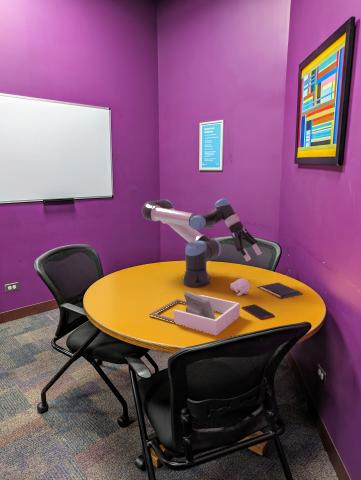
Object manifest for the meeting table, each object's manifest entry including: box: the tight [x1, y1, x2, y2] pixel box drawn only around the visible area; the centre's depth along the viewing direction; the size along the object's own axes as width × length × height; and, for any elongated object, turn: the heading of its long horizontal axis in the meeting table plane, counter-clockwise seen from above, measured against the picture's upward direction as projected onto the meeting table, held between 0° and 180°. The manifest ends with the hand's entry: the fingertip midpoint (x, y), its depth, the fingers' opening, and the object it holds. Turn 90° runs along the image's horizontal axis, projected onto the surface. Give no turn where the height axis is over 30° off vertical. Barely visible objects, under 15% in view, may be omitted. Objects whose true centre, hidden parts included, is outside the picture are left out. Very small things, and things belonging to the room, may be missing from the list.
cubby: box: [173, 294, 241, 336], centre depth 146 cm, size 20×21×6 cm
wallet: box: [256, 282, 304, 300], centre depth 178 cm, size 20×2×15 cm
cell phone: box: [241, 303, 276, 321], centre depth 152 cm, size 8×15×1 cm, turn 25°
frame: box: [148, 298, 187, 322], centre depth 156 cm, size 13×21×1 cm, turn 145°
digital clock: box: [183, 291, 216, 320], centre depth 147 cm, size 16×9×11 cm, turn 26°
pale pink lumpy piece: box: [230, 277, 251, 297], centre depth 176 cm, size 6×8×12 cm
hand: (254, 257), depth 184 cm, fingers open, 13 cm apart
